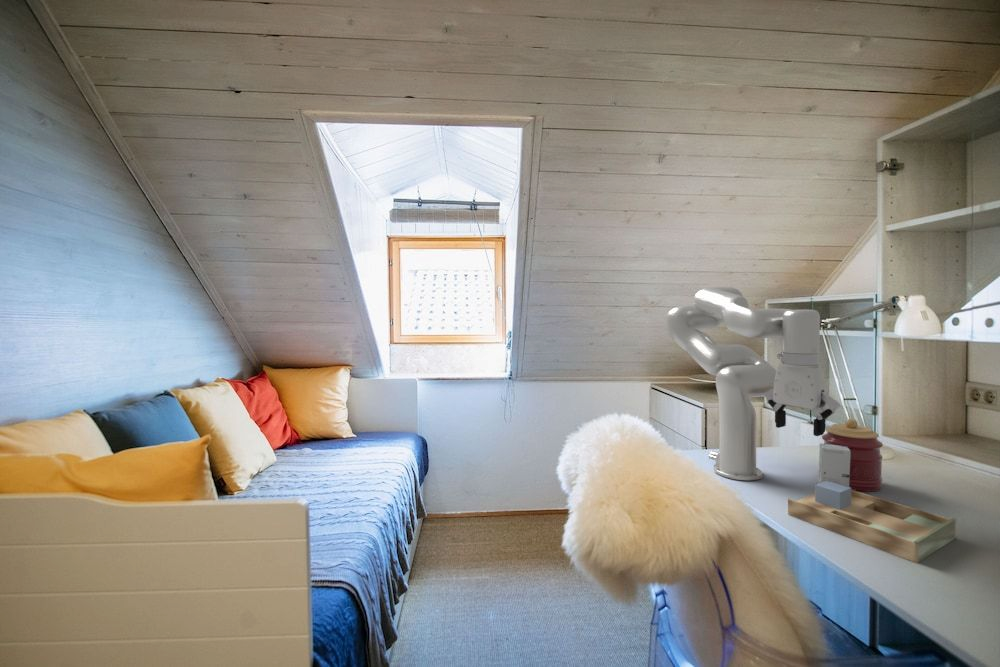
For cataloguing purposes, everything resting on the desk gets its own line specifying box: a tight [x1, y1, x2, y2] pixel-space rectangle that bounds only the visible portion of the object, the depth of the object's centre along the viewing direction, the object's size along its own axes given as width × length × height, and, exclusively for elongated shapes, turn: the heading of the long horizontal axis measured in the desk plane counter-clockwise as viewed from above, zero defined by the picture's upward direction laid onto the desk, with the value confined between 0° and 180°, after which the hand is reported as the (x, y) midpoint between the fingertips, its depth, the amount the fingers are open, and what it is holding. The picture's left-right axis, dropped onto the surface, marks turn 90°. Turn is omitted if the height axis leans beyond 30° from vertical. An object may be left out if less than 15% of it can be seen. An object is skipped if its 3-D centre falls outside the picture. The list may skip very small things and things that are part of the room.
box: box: [787, 490, 957, 564], centre depth 96 cm, size 23×18×4 cm
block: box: [814, 481, 851, 510], centre depth 102 cm, size 5×5×4 cm
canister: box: [821, 418, 884, 492], centre depth 119 cm, size 13×13×18 cm
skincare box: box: [817, 442, 851, 487], centre depth 113 cm, size 6×4×12 cm
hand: (799, 430), depth 108 cm, fingers open, 8 cm apart
